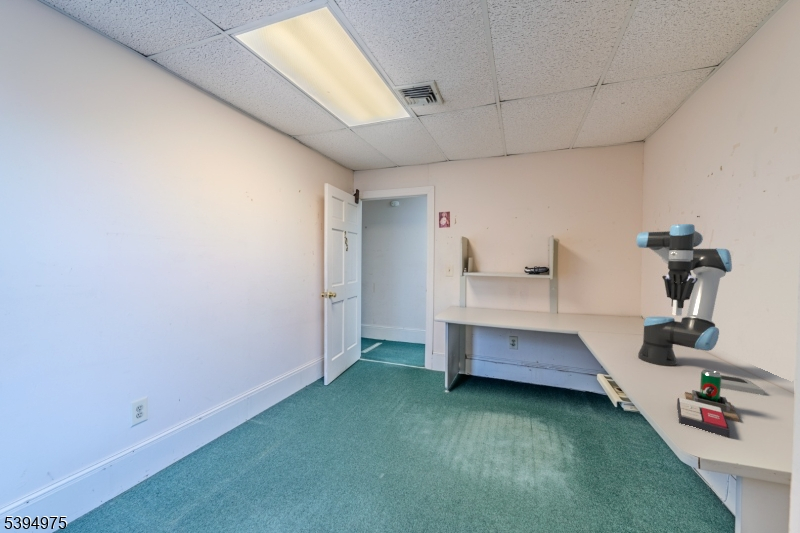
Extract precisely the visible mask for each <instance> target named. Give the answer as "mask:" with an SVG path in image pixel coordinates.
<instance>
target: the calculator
mask: <svg viewBox="0 0 800 533" xmlns="http://www.w3.org/2000/svg"><path fill="white" fill-rule="evenodd" d="M676 402H677V404H676V409H677V410H678V411H677V417H678V418H679V419H678V418H677V419H678V424H680V423H681V424H680V425H682V424H685V425H684V426H686V425H689V426H693V427H696V428H699V429H702V430H701V431H703V430H705V431H704V432H706V431H708V432H707V433H710V432H711V433H710V434H713V433H715V434H714V435H717V436H720V435H721V436H720V437H724V438H728V439H729V438H730V427H729V424H728V422H727V419H725V416H724V413H723V410H722V409H721V408H719V407H716V406H711V405H707V404H703V403H699V402H695V401H691V400H687V399H686V398H682V397H678V398H677V401H676ZM689 426H688V427H689ZM696 428H695V429H696ZM699 429H698V430H699Z"/></svg>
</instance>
